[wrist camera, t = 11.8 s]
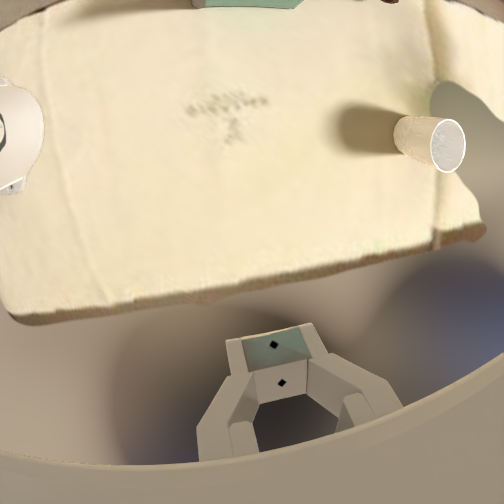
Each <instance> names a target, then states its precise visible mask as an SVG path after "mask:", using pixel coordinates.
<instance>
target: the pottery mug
mask: <svg viewBox="0 0 504 504" xmlns="http://www.w3.org/2000/svg"><path fill="white" fill-rule="evenodd" d="M381 1H383V2H386V3H390V4H393V3H398V1H399V0H381Z"/></svg>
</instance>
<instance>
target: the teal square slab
mask: <svg viewBox="0 0 504 504" xmlns="http://www.w3.org/2000/svg"><path fill="white" fill-rule="evenodd" d="M302 1H303V0H191V4H192V5H193V6H194V7H196V8H204V7H211V6H257V7H275V8H288V9H294V8H295V7H296V6H297V5H299V4H300V3H301V2H302Z"/></svg>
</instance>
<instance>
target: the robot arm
mask: <svg viewBox="0 0 504 504" xmlns="http://www.w3.org/2000/svg"><path fill="white" fill-rule="evenodd" d="M43 135H44V122H43V115H42V111H41V108H40V106H39V104H38V102H37V100H36V99H35V98H34V96H33V95H32V94H31V93H29V92H28V91H27V90H25V89H22V88H19V87H16V86H13V85H12V84H11V82H10V81H9V80H8V79H7V78H5V77H0V195H9V194H18V193H20V192H22V191H23V189H24V187H25V183H26V179H27V174H28V172H29V170H30V169H31V167H32V166H33V164H34V163H35V161H36V159H37V157H38V155H39V152H40V150H41V146H42V142H43ZM11 185H12V188H11ZM226 347H227V353H228V359H229V365H230V371H231V376H227V378H226V379H225V381H224V383H223V384H222V386H221V388H220V390H219V391H218V393H217V394H216V396H215V398H214V399H213V401H212V403H211V404H210V406H209V408H208V409H207V411H206V413H205V414H204V416H203V417H202V419H201V421H200V422H199V424H198V426H197V427H196V429H197V441H198V452H199V462H193V463H181V464H166V465H130V466H129V465H99V464H98V465H97V464H84V463H73V462H64V461H56V460H48V459H41V458H36V457H30V456H25V455H19V454H14V453H10V452H6V451H1V450H0V504H504V352H503V353H502V354H500V355H499V356H497V357H496V358H494V359H493V360H491V361H490V362H488V363H486V364H485V365H483V366H482V367H480V368H478V369H477V370H475V371H473V372H472V373H470V374H468V375H467V376H465V377H463V378H462V379H460V380H458V381H456V382H454V383H452V384H451V385H449V386H447V387H445V388H443V389H441V390H439V391H437V392H435V393H433V394H432V395H429V396H427V397H425V398H423V399H421V400H419V401H417V402H415V403H412V404H410V405H408V406H406V407H403V406H402V404H401V403H400V401H399V399H398V398H397V396H396V394H395V393H394V391H393V389H392V388H391V386H390V385H389V383H388V381H387V380H385V379H382V378H380V377H378V376H376V375H374V374H372V373H370V372H368V371H366V370H364V369H362V368H361V367H358V366H357V365H355V364H353V363H351V362H349V361H347V360H345V359H343V358H341V357H339V356H337V355H335V354H333V353H330V354H328V352H327V350H326V349H325V347H324V345H323V343H322V341H321V339H320V337H319V335H318V333H317V332H316V330H315V328H314V326H313V324H311V323H307V324H303V325H299V326H297V327H296V326H295V327H291V328H286V329H282V330H277V331H273V332H269V333H263V334H258V335H252V336H246V337H241V339H240V338H236V339H229V340H226ZM304 393H307V395H309V396H310V397H311V398H313V399H314V400H315V401H317V402H318V403H319V404H321V405H322V406H323V407H325V408H326V409H327V410H329V411H330V412H331V413H333V414H334V415H335V416H337V417H338V418H339V420H338V424H337V428H336V432H335V433H334V434H331V435H328V436H325V437H321V438H318V439H314V440H311V441H307V442H304V443H300V444H296V445H292V446H288V447H284V448H279V449H275V450H270V451H266V452H261V453H259V449H258V445H257V441H256V437H255V433H254V429H253V425H252V422H253V419H254V417H255V414H256V412H257V410H258V407H259V404H261V403H266V402H270V401H274V400H278V399H282V398H286V397H291V396H295V395H300V394H304Z"/></svg>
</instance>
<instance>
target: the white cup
mask: <svg viewBox="0 0 504 504" xmlns="http://www.w3.org/2000/svg"><path fill="white" fill-rule="evenodd" d="M393 137H394V143H395V145H396V147H397V149H398V150H399V151H400V152H402V153H403V154H405V155H407V156H409V157H411V158H413V159H415V160H417V161H419V162H421V163H424V164H426V165H428V166H430V167H433V168H435V169H437V170H439V171H441V172H444V173H450V172H452V171H454V170H455V169H456V168H458V166H459V165H460V164H461V162H462V160H463V157H464V154H465V136H464V133H463V131H462V128H461V127H460V126H459V124H458V123H457V122H455V121H454V120H451V119H445V118H436V117H426V116H417V117H416V116H405V117H403V118H400V119H399V121H398V122H397V123H396V125H395V128H394V132H393Z"/></svg>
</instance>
